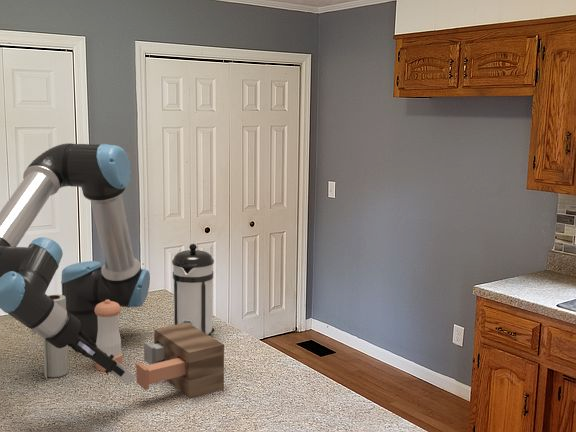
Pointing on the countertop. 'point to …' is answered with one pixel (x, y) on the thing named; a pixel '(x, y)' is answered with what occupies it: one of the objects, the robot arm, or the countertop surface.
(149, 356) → the plug grey
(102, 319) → the salt shaker
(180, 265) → the coffee press
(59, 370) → the paper towel roll
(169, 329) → the block
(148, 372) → the plug terracotta
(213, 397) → the countertop surface
